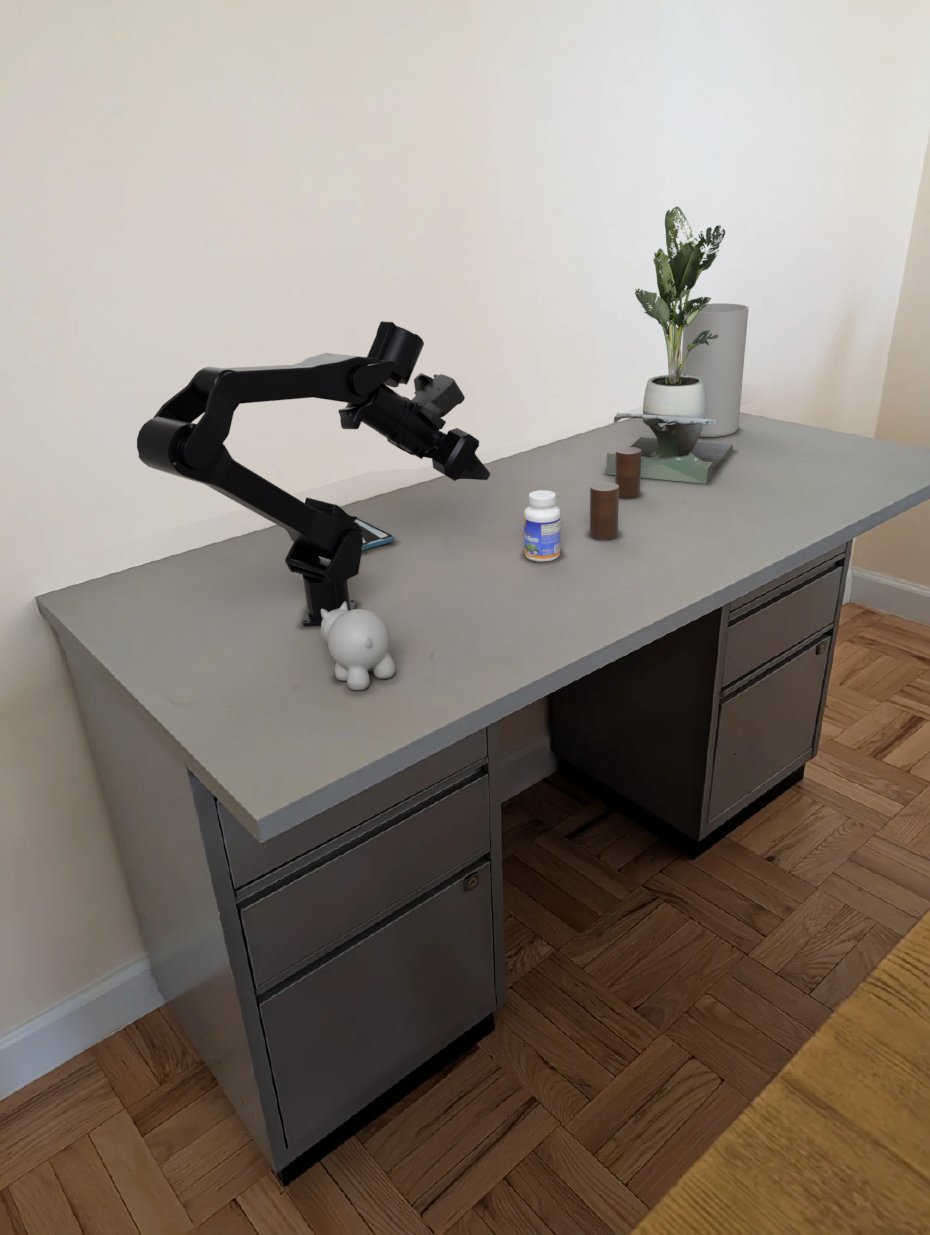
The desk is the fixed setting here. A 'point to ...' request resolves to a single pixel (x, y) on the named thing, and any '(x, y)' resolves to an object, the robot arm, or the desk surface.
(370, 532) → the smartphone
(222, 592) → the desk surface
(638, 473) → the far peg
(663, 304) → the potted plant
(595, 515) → the near peg
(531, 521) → the pill bottle
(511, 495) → the desk surface
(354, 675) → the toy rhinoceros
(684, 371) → the cylinder vase
